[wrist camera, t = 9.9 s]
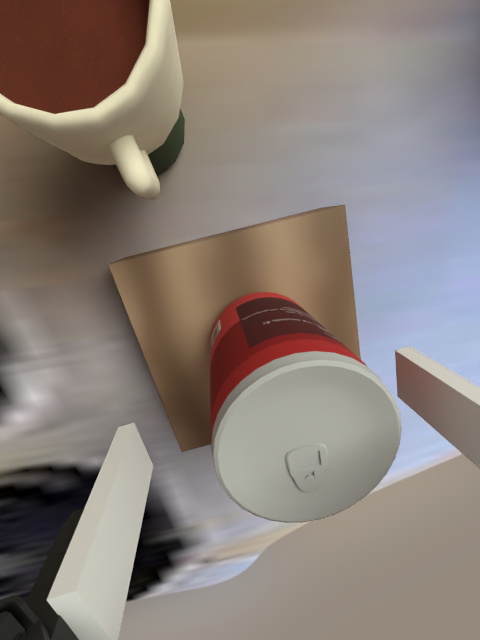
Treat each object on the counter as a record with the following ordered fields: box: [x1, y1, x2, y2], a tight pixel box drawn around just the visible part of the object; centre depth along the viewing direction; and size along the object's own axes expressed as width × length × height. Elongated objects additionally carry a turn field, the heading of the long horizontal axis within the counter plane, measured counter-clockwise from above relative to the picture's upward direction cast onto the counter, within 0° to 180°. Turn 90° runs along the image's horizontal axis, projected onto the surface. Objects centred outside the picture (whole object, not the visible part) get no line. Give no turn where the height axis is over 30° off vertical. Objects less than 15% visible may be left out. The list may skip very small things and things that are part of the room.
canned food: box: [210, 292, 401, 523], centre depth 16 cm, size 8×8×11 cm
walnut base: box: [109, 205, 361, 452], centre depth 23 cm, size 16×16×4 cm
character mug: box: [0, 0, 184, 199], centre depth 14 cm, size 11×7×13 cm, turn 21°
